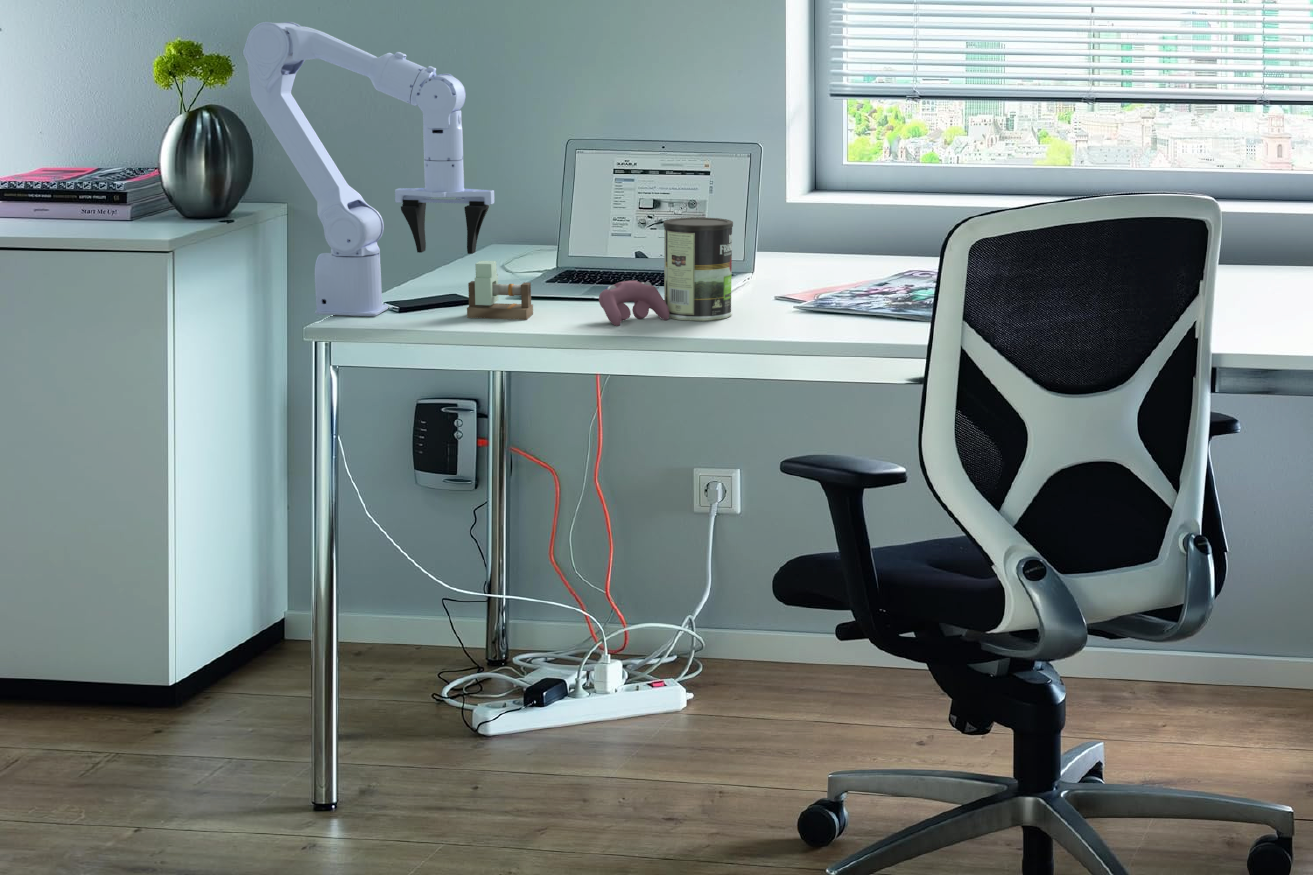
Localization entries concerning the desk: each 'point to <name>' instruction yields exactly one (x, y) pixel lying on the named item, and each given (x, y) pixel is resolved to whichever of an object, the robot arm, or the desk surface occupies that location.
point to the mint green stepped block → (485, 282)
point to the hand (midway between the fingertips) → (446, 252)
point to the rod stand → (502, 310)
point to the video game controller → (636, 292)
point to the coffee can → (698, 268)
